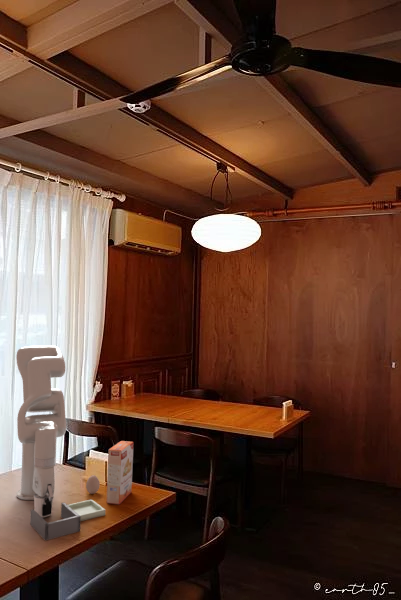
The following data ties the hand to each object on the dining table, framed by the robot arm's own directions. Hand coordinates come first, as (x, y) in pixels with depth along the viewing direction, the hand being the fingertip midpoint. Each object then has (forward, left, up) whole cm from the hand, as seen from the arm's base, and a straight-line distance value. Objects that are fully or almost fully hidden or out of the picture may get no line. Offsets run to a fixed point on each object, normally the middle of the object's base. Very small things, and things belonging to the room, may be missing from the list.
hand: (43, 511), depth 177 cm
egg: (-10, +24, -2) cm, 26 cm away
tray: (+6, +13, -2) cm, 14 cm away
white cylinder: (0, 0, -1) cm, 1 cm away
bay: (+12, 0, -2) cm, 13 cm away
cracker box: (0, +31, -2) cm, 31 cm away
